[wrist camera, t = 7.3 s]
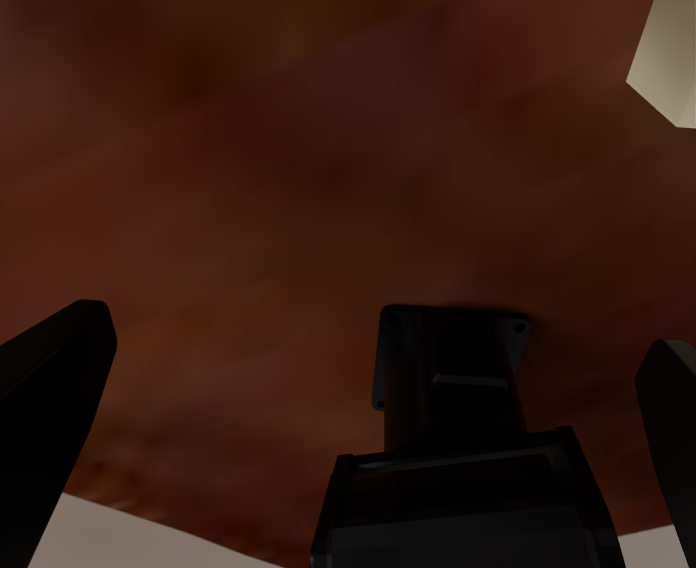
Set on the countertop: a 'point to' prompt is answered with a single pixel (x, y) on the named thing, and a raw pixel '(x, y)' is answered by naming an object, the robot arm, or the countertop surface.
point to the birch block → (668, 61)
